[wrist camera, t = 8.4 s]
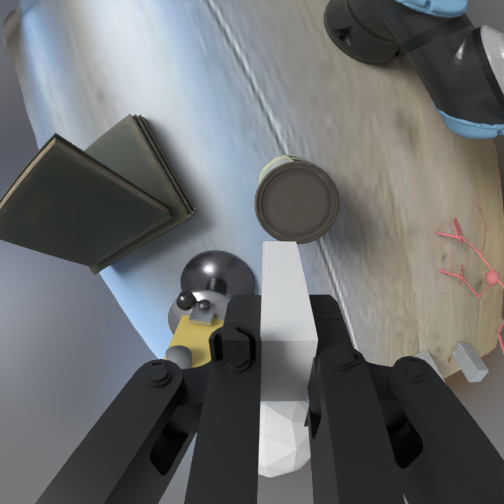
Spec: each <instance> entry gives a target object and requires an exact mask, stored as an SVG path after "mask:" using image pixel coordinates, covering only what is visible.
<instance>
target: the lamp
mask: <svg viewBox="0 0 504 504" xmlns="http://www.w3.org/2000/svg"><path fill="white" fill-rule="evenodd" d="M308 407H309V399H308V394H307V399H306V401H261V402H260V436H259V465H258V474H260V475H263V476H267V477H274V476H278V475H282V474H285V473H289V472H292V471H296V470H298V469H300V468H301V467H302V466H303V465H304V464H305V463H306V462H307V461H308V460H309V459H310V458H311V456H310V443H309V432H308V426H307V427H304V423H305V419H306V415H307V411H308Z"/></svg>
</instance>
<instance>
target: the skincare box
mask: <svg viewBox="0 0 504 504" xmlns="http://www.w3.org/2000/svg"><path fill="white" fill-rule="evenodd" d="M451 354H452V356H453V357H454V359H455V360H456V362H457V364H458V365H459V367H460V368H461V370H462V372H463V373H464V375H465V376H466V378H467V380H468V381H469V382H480V381H481V380H482V379H483V378H484V377H485V375H486V374H487V373H488V372H489V370H488V369H487V367H486V366H485V364H484V363H483V361H482V360H481V358H480V357H479V356H478V354H477V353H476V351H475V350H474V349H473V347H472V346H471V344H467V343H460V342H459V343H458V344H457V345H456V347H455V348H454V350H453V351H452V353H451Z"/></svg>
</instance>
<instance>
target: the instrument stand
mask: <svg viewBox="0 0 504 504" xmlns="http://www.w3.org/2000/svg"><path fill="white" fill-rule="evenodd" d="M181 289H182V292H181V293H180V294H179V296H178V298H177V299H176V300H175V301H174V302H173V304H172V306H171V308H170V310H169V314H168V322H169V327H170V329H171V331H172V333H173V335H174V334H175V331H176V329H177V327H178V324H179V322H180V320H181V317H182V315H186V316H190V317H189V323H192V324H200V325H208V326H211V323H212V319H218V320H224V319H225V314H226V309H227V304H228V302H229V301H230V300H231V299H232V298H233V297H234V295H254V278H253V275H252V272H251V270H250V269H249V267H248V266H247V265H246V264H245V263H244V262H243V261H242V260H241V259H240V258H238V257H237V256H235V255H233V254H231V253H228V252H224V251H207V252H203V253H200V254H198V255H196V256H195V257H193V258H192V259H191V260H190V261H189V262H188V264H187V265H186V267H185V269H184V270H183V273H182V276H181Z"/></svg>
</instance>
